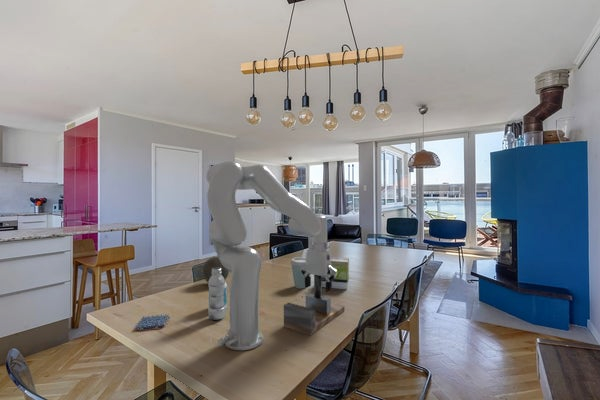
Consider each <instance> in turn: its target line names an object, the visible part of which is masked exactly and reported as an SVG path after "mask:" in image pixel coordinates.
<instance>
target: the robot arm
mask: <svg viewBox="0 0 600 400" xmlns="http://www.w3.org/2000/svg"><path fill="white" fill-rule="evenodd" d="M205 178H206V181H207V184H209V187H208V189H207V195H206V197H207V205H208V208H209V209H208V210H209V212H210V215H211V217H212V220H211V222H210V224H209V226H208V235H209V238H210V241H211V243H212V246H213V248H214V250H215V252H216V255H217V257H218V258H219V260H220V262H221V263H222V265H223V266H224V267H225V268H227V269H228V270H229V272H231V278H230V281H229V282H230V283H229V329H228V330H227V331H226V333H227V334H225V336H223V337H222V338H219V339H218V340H217V344H218V346H219V347H222V346H223V345H225V346H226V347H227V348H229V349H231V350H234V351H247V350H253V349H254V348H258V347H259V346H260V345H262V343H263V342H264V334H263V333H262V332H261V331H260V327H259V326H260V323H259V322H260V320H259V318H260V316H259V315H260V314H259V312H260V311H259V309H260V305H259V303H260V302H259V301H260V300H259V298H260V296H259V292H260V291H259V286H260V285H259V283H260V275H261V274H260V273H261V267H262V258H261V256H260V253H258V251H257V250H255V249H254V248H252V247H250V246H247V245H245V244H244V245H243V243H244V242H245V241H246V239H247V232H248V231H247V228H246V225H245V223H244V220H243V218H242V214H241V213H240V210H239V207H238V204H237V199H236V192H237V190H239V191H240V190H253V191H255V192H256V194H258V195H259V197H261V199H263V201H264V202H265V203H266V204H267V205H268V206H269V207H270V208H271V209H272V210H274V211H275V212H278V213H280V214H283V215H285V216H288V217H289V218H291V219H289V221H288V225H287V226H288V229H289V231H290V232H291V233H293V234H294V235H296V236H297V235H298V236H302V237H303V236H304V237H308V248H307V250H306V255H305V258H306V263H304V264H302V265H300V269H301V272H302V274H303V275H304V278H305V287H306V288H305V289H307V288H309V287H311V283H312V280H311V279H312V276H311V275H313V276H314V275H318V276H324V277H325V279H326V280H327V282H326V287H325V293H329V292H331V291H332V289H333V288H332V280H333V279H334V278H335V277H336V275H337V273H338V271H337V270H336V269H334V268H333V267H332V266H331V252H330V247H331V245H330V244H329V243H328V218H327V217H326V216H325V215H317V214H316V213H315V211H314V210H313V209H312V208H311V207H309V205H308V204H306V203H305V202H303V201H302V200H300V199H299V198H298V197H296V196H295V195H293V194H291V193H290V192H289V191H288V189H286V188H285V186H284V185H283V184H282V183H281V182H280V181H279V179H278V178H277V177H276V176H275V174H273V172H272V171H271V170H270V169H269V168H268V167H267V166H266V165H263V164H254V165H248V166H241V164H239V163H238V162H236V161H233V160H232V161H231V160H227V161H223V162H220V163H216V164H213V165H211V166H210V167H209V168H208V170H207V172H206V177H205ZM304 267H305V268H304ZM331 272H332V273H333V274H332V276H331V275H330V274H331Z"/></svg>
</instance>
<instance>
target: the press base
mask: <svg viewBox="0 0 600 400" xmlns="http://www.w3.org/2000/svg"><path fill="white" fill-rule="evenodd" d="M344 312H345V306H344V305H341V304H337V303H333V302H331V313H329V314H328V315H324V314H321V313H317V312H315V309H311V308H307V307H306V306H303V305H299V304H295V303H291V302H287V303H284V304H283V327H285V328H287V329H291V330H294V331H296V332H299V333H303V334H306V335H308V336H312V335H313V334H315V333H316V332H318V331H319V330H321V329H322V328H323V327H325V326H326V325H327V324H328V323H330V322H332V321H333V320H334V319H336V318H337V317H338V316H339V315H341V314H342V313H344Z"/></svg>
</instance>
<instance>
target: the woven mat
mask: <svg viewBox="0 0 600 400" xmlns="http://www.w3.org/2000/svg"><path fill="white" fill-rule="evenodd" d="M170 318H171V316H170V315H169V314H167V313H166V314H164V315H163V314H161V315H158V314H156V315H151V316H149V315H147V316H143V317H142V318H140V320H139V321H138V323H137V325H136V326H135V329H136V330H135V332H138V331H137V330H138V328H139V330H141V331H142V332H143V330H144V331H151V329H153V330H159V329H160V330H161V328H162V329H166V327H167V325H168V322H169V320H170ZM147 329H149V330H147ZM141 331H140V332H141Z"/></svg>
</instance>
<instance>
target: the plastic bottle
mask: <svg viewBox="0 0 600 400" xmlns="http://www.w3.org/2000/svg"><path fill="white" fill-rule="evenodd" d="M221 273H222V271H221V268H219V267H216V268H212V276H211V277H210V279H209V282H207V283H208V294H209V293H210V303H209V302H208V310H207V314H208V319H210V320H212V321H219V320H222V319H223V318H224V317H225V314H226V309H225V307H224V286H225V283H226V280H225V279H224V278H223V276H222V275H221Z"/></svg>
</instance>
